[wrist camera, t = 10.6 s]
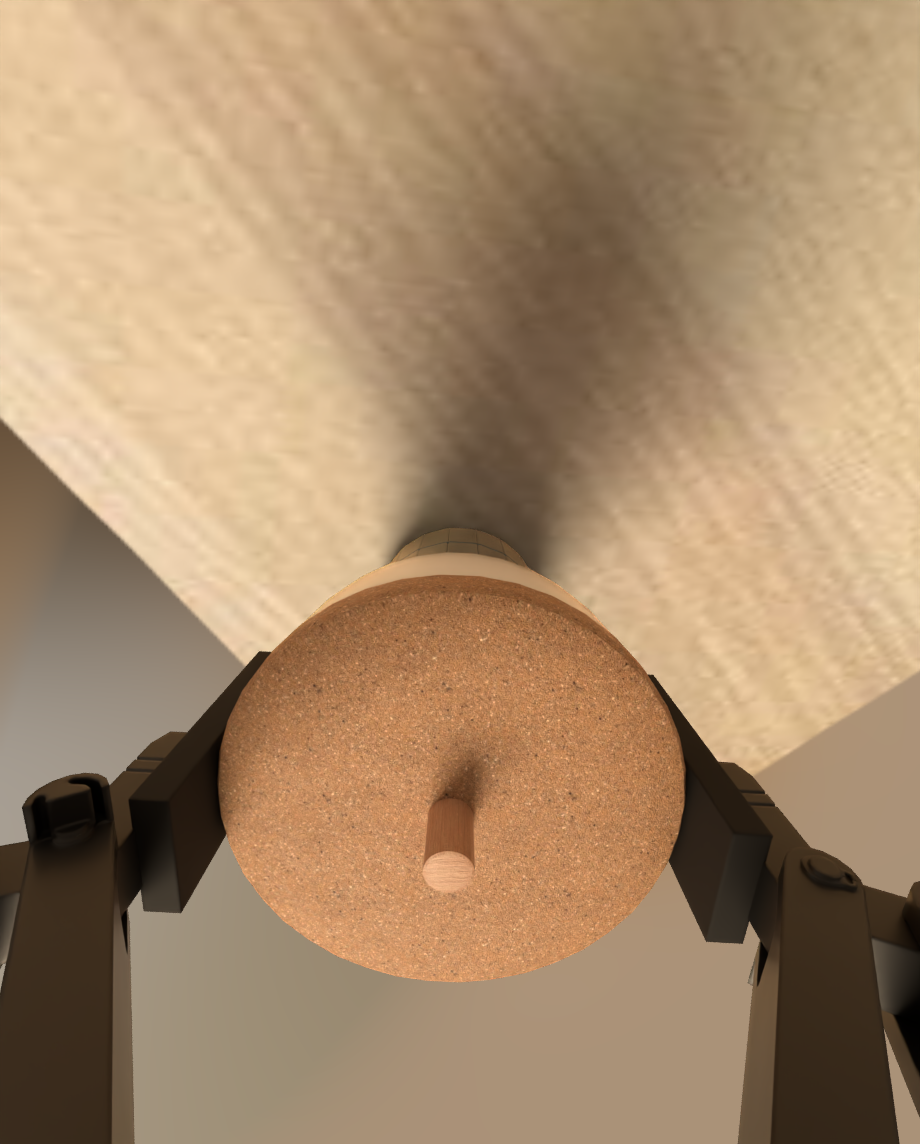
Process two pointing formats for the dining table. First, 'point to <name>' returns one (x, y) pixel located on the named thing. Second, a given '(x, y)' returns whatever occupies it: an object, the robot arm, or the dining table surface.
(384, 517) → the dining table surface
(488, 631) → the trinket box
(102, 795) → the robot arm
